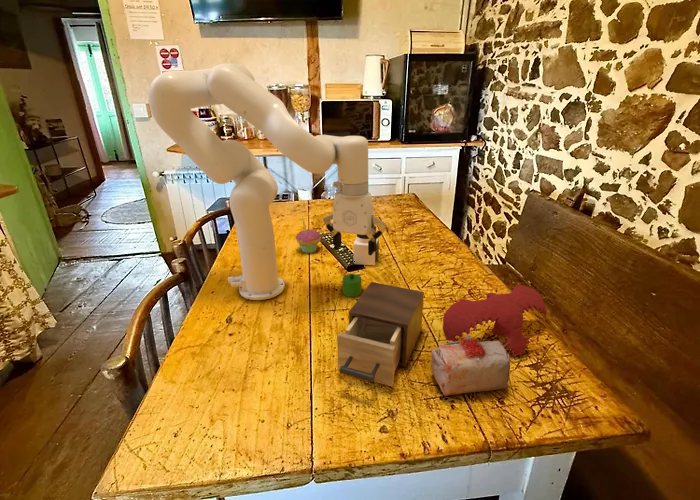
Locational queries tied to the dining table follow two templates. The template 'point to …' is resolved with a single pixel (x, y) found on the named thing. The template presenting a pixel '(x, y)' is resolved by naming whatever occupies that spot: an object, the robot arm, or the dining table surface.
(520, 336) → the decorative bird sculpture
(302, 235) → the cupcake
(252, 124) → the robot arm
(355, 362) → the drawer
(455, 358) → the food item
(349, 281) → the pepper
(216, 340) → the dining table surface
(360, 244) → the medicine bottle
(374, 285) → the cabinet
